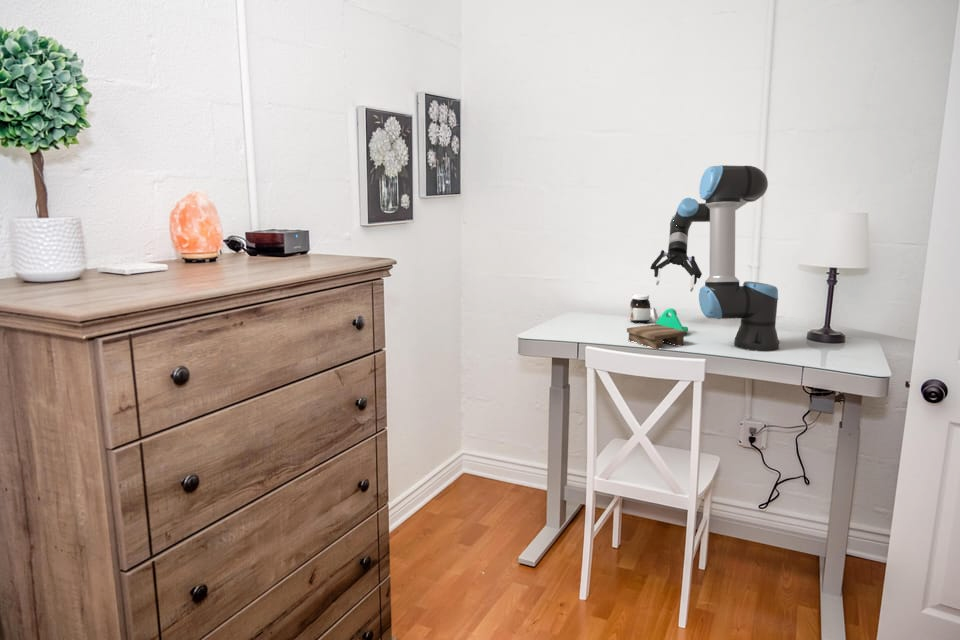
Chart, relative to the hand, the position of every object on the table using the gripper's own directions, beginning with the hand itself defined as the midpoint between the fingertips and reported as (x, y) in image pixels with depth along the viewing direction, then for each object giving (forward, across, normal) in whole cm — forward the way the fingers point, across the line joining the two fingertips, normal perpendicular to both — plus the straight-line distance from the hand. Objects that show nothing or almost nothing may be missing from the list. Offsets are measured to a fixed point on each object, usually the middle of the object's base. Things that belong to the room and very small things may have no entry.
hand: (674, 286), depth 274 cm
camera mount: (+17, -2, -9) cm, 19 cm away
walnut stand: (+30, +6, +3) cm, 31 cm away
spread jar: (+4, +6, -24) cm, 25 cm away
